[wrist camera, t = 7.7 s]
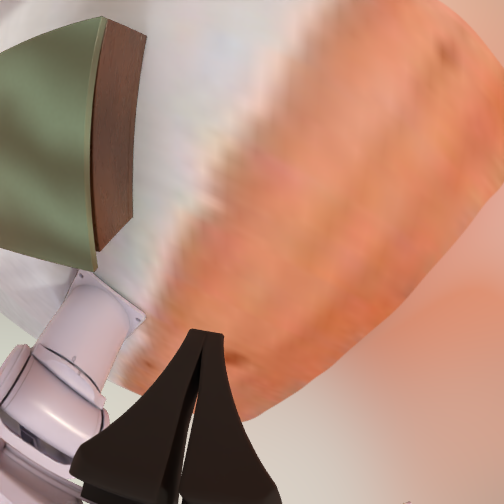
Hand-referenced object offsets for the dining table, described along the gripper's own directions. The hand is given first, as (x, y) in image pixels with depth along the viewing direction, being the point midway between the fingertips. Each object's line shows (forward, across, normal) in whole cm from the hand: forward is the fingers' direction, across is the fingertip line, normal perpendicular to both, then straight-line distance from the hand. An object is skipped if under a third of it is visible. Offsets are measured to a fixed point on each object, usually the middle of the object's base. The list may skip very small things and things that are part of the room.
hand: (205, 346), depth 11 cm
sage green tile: (+5, +13, -7) cm, 16 cm away
